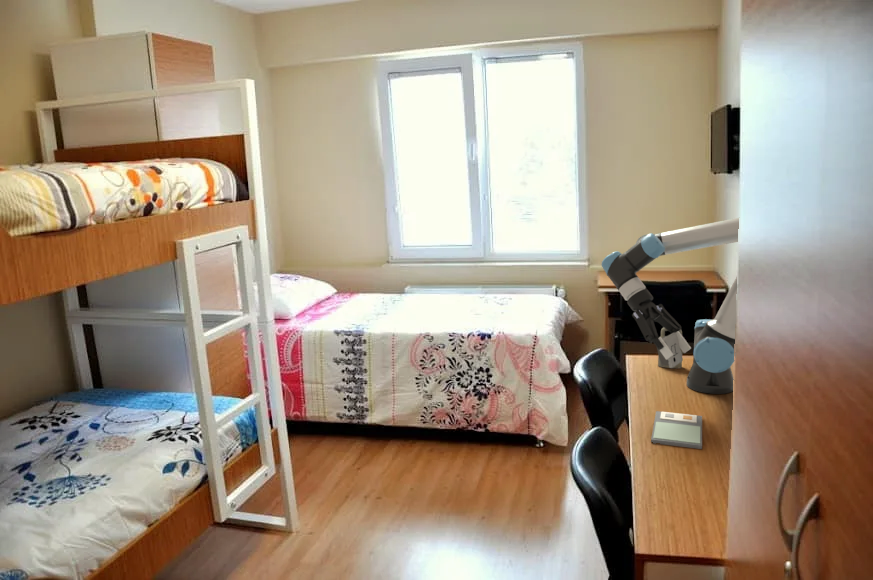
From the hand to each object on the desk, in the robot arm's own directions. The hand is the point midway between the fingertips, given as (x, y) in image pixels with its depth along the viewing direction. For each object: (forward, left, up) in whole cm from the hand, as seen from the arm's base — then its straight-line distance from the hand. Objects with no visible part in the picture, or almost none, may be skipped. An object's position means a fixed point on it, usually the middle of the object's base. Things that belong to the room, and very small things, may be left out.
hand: (678, 353), depth 205 cm
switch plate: (+13, +12, -18) cm, 25 cm away
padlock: (-31, -31, -18) cm, 48 cm away
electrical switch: (+1, -3, -4) cm, 5 cm away
